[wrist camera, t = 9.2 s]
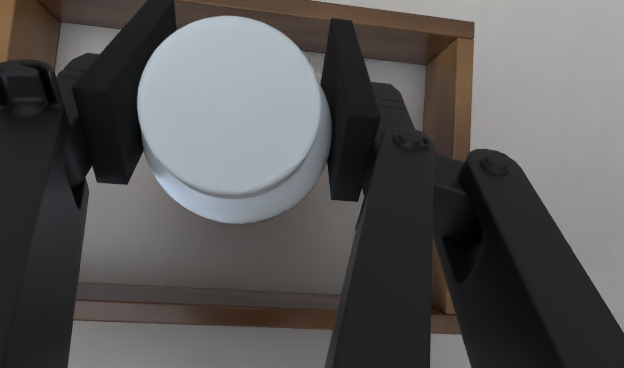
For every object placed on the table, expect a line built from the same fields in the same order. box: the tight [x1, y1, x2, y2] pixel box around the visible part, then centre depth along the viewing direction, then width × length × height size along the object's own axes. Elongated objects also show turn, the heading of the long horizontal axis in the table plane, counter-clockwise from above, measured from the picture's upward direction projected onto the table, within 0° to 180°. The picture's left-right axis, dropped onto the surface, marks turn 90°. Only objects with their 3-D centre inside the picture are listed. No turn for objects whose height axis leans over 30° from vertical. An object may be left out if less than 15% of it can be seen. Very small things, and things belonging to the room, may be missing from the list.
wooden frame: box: [0, 0, 474, 335], centre depth 18 cm, size 14×20×4 cm
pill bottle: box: [137, 16, 332, 224], centre depth 14 cm, size 5×5×10 cm
